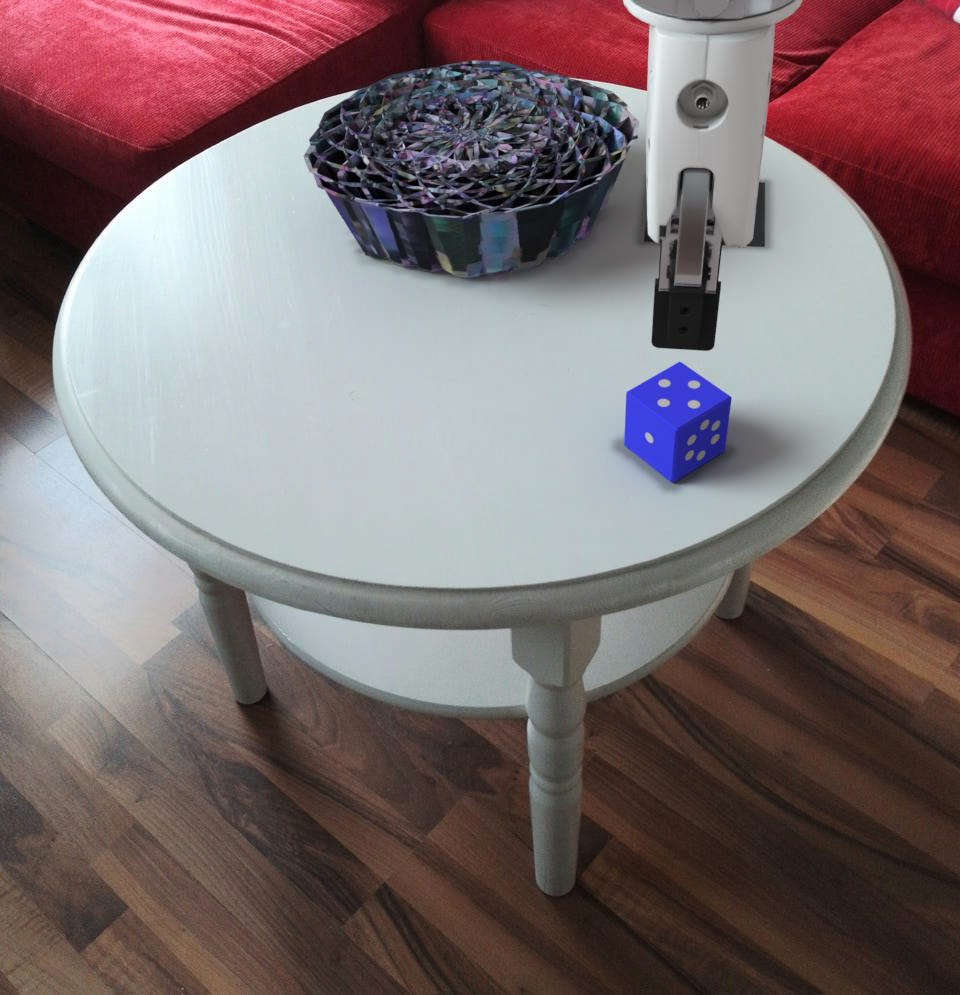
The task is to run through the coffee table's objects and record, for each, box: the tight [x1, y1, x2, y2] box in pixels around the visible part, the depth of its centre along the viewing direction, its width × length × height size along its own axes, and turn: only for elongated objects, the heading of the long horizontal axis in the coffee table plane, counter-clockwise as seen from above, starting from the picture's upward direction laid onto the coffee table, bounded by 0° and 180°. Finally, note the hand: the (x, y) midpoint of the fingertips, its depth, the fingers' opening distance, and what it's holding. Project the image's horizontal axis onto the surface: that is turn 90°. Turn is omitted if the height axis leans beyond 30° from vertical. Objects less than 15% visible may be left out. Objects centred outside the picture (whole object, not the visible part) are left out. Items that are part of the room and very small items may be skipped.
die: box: [623, 361, 732, 483], centre depth 74 cm, size 5×5×5 cm
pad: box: [643, 181, 766, 248], centre depth 96 cm, size 10×10×1 cm
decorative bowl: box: [303, 60, 640, 278], centre depth 95 cm, size 26×28×10 cm
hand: (685, 312), depth 59 cm, fingers open, 4 cm apart
